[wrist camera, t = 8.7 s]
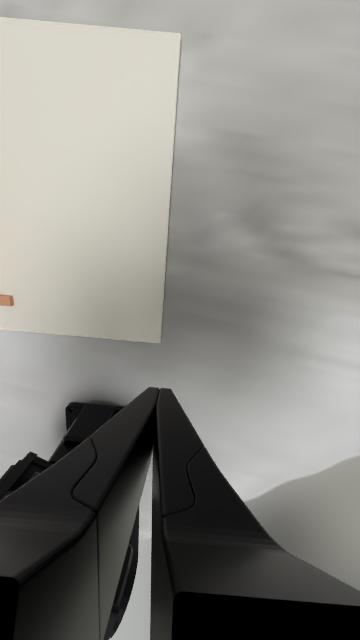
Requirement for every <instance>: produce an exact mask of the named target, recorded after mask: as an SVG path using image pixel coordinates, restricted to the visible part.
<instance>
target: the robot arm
mask: <svg viewBox="0 0 360 640" xmlns="http://www.w3.org/2000/svg"><path fill="white" fill-rule="evenodd" d="M71 408H73V410H72V409H71ZM66 426H67V433H66V434H65V436H64V438H63V440H62V441H61V443H60V444H59V446H58V447H57V449H56V450H55V452H54V453H53V455H52V456H51V458H50V459H49V461H46V460H44V459H42V458H40V457H37V454H35V453H33V452H31V451H30V452H29V453H28V454H27V456H26V457H25V458H24V459H23V460H19V461H18V462H17V463H16V464H15V465H12V466H11V467H10V468H9V469H8V470H7V471H6V473H5V474H4V475H3V476H2V478H1V479H0V640H109V639H110V638H112V636H113V635H114V633H115V632H116V630H117V628H118V626H119V624H120V623H121V620H122V618H123V615H124V613H125V610H126V607H127V604H128V602H129V599H130V595H131V591H132V588H133V584H134V579H135V575H136V569H137V563H138V538H139V502H140V498H141V495H142V491H143V487H144V483H145V479H146V476H147V472H148V468H149V464H150V460H151V456H152V452H153V481H152V552H151V623H150V624H151V625H150V640H360V591H359V590H357V589H355V588H354V587H352V586H350V585H348V584H346V583H344V582H342V581H341V580H339V579H337V578H335V577H333V576H331V575H330V574H328V573H326V572H324V571H322V570H321V569H319V568H317V567H315V566H313V565H311V564H310V563H307V562H306V561H304V560H302V559H300V558H299V557H297V556H295V555H293V554H291V553H290V552H288V551H287V550H285V549H284V548H283V547H281V546H280V545H279V544H278V543H277V542H276V541H275V540H274V539H273V538H272V537H271V536H270V535H269V534H268V533H267V532H266V530H265V529H264V528H263V527H262V526H261V524H260V523H259V522H258V520H257V519H256V518H255V516H254V515H253V514H252V513H251V511H250V510H249V509H248V507H247V506H246V505H245V503H244V502H243V501H242V500H241V498H240V497H239V496H238V494H237V493H236V492H235V490H234V489H233V488H232V487H231V485H230V484H229V482H228V481H227V480H226V478H225V477H224V476H223V474H222V473H221V472H220V470H219V469H218V467H217V466H216V464H215V462H214V461H213V459H212V458H211V456H210V454H209V453H208V451H207V449H206V448H205V447H204V444H203V443H202V441H201V439H200V438H199V436H198V434H197V433H196V431H195V429H194V427H193V426H192V424H191V422H190V421H189V419H188V417H187V416H186V414H185V412H184V410H183V409H182V407H181V405H180V404H179V402H178V400H177V399H176V397H175V395H174V394H173V392H172V390H171V389H166V388H161V389H159V388H154V387H149V388H147V389H146V390H145V391H144V392H142V393H141V394H140V395H139V396H138V397H136V398H135V399H134V400H133V401H132V402H130V403H129V404H128V405H127V406H126V407H115V406H105V405H93V404H80V403H70V404H69V405H68V406H67V407H66Z"/></svg>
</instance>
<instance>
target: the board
mask: <svg viewBox="0 0 360 640" xmlns="http://www.w3.org/2000/svg"><path fill="white" fill-rule="evenodd" d="M180 48H181V33H170V32H159V31H148V30H137V29H126V28H115V27H104V26H93V25H82V24H71V23H60V22H49V21H37V20H26V19H15V18H4V17H0V330H11V331H22V332H33V333H45V334H56V335H67V336H79V337H90V338H101V339H113V340H124V341H135V342H147V343H158V344H160V343H161V331H162V316H163V301H164V286H165V271H166V256H167V241H168V227H169V212H170V197H171V182H172V167H173V152H174V137H175V122H176V107H177V92H178V77H179V62H180Z"/></svg>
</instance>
